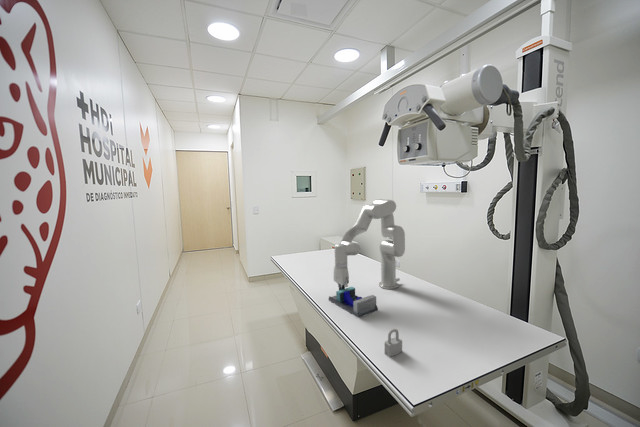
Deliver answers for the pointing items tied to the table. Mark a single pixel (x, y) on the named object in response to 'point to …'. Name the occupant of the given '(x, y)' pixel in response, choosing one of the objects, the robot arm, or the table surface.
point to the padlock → (393, 344)
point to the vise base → (358, 305)
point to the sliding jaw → (341, 292)
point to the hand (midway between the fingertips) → (341, 293)
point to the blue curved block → (349, 298)
